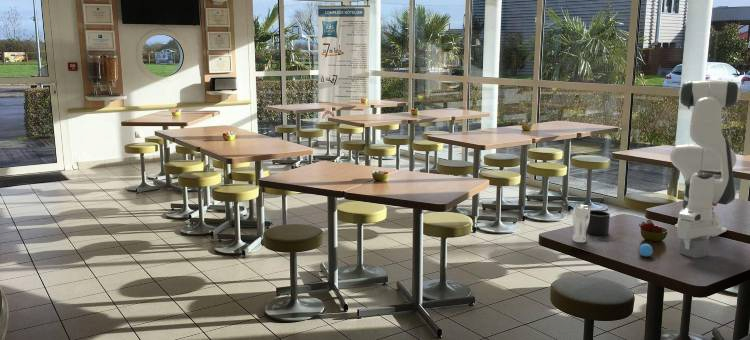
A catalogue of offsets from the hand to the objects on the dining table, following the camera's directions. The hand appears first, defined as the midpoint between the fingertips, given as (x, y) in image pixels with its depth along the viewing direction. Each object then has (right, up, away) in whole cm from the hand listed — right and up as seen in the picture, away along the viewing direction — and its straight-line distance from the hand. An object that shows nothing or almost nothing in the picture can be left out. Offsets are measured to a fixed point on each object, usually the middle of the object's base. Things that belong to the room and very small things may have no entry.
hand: (695, 247), depth 254 cm
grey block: (-1, -3, +1) cm, 3 cm away
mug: (-28, +3, +30) cm, 41 cm away
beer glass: (-41, 0, +17) cm, 44 cm away
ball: (-21, -1, -3) cm, 21 cm away
